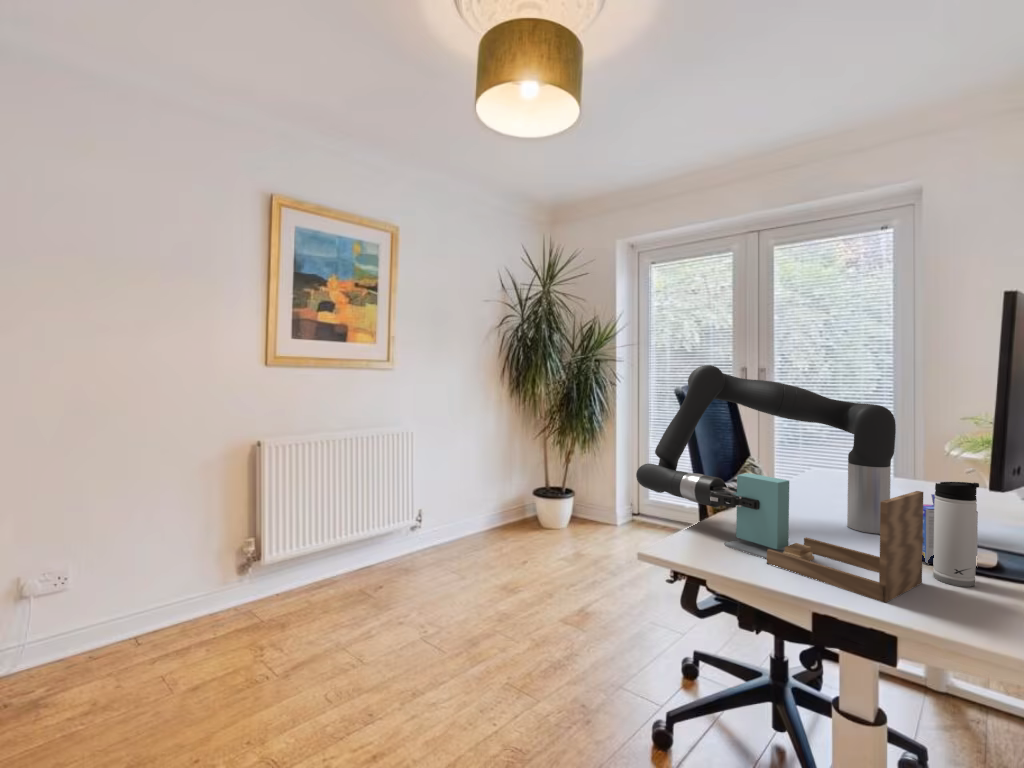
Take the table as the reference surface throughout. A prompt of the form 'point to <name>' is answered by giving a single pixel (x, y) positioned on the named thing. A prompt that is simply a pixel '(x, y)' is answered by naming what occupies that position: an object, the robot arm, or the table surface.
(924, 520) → the ink cartridge box
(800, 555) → the offcut stack
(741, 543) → the slate mat
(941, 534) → the travel mug
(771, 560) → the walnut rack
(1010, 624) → the table surface
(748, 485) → the teal panel
